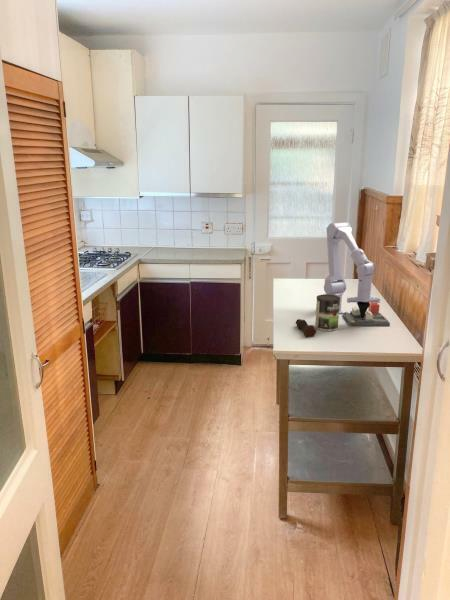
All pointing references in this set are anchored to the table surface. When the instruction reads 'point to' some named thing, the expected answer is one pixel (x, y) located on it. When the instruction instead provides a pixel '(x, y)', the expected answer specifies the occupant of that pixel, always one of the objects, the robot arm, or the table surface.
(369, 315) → the toggle tagged
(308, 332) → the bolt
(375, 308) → the cap
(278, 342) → the table surface
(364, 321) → the grey tray
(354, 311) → the toggle
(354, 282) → the table surface
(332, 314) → the coffee can
